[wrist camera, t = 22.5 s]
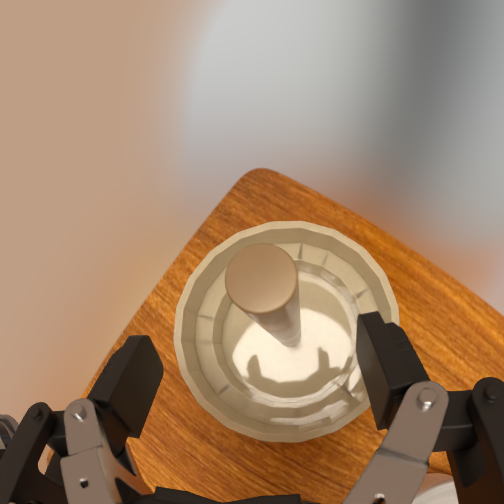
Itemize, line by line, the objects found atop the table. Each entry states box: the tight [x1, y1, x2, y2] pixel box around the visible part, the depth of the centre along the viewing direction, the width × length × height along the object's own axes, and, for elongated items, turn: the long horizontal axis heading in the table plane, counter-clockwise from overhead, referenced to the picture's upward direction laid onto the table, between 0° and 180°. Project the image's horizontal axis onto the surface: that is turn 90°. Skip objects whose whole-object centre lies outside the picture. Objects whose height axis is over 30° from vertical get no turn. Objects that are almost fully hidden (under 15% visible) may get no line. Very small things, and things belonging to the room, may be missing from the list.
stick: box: [225, 243, 301, 347], centre depth 15 cm, size 2×2×17 cm
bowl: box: [173, 221, 400, 443], centre depth 20 cm, size 15×15×6 cm
